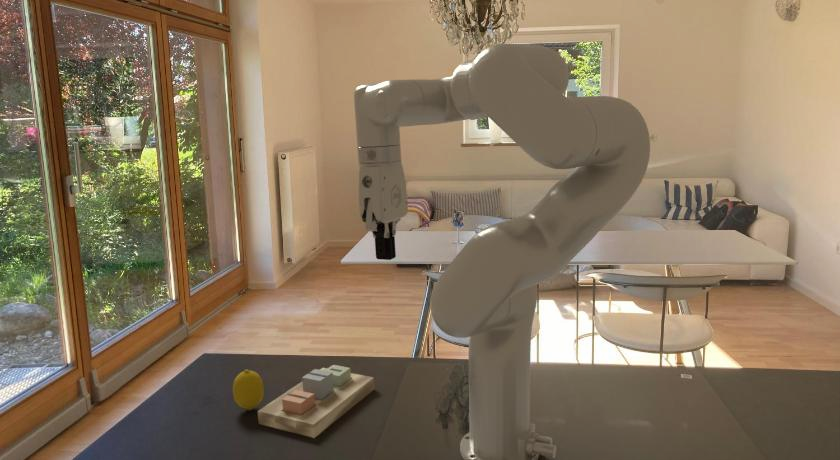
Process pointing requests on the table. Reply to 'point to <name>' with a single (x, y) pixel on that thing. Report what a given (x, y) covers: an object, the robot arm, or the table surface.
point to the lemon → (248, 389)
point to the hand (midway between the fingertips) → (385, 258)
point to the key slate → (318, 383)
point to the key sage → (340, 375)
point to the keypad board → (317, 408)
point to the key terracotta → (298, 402)
